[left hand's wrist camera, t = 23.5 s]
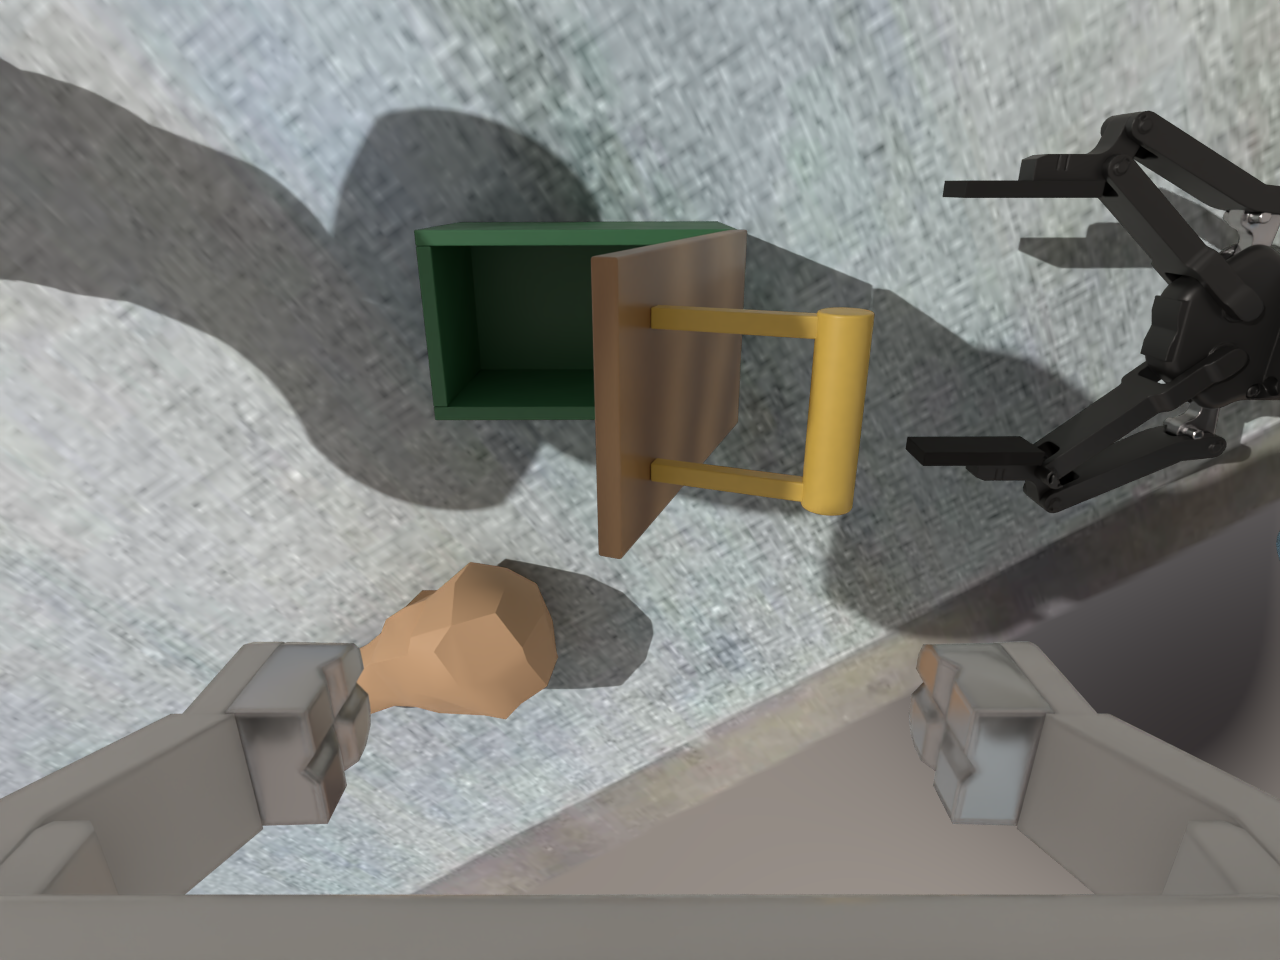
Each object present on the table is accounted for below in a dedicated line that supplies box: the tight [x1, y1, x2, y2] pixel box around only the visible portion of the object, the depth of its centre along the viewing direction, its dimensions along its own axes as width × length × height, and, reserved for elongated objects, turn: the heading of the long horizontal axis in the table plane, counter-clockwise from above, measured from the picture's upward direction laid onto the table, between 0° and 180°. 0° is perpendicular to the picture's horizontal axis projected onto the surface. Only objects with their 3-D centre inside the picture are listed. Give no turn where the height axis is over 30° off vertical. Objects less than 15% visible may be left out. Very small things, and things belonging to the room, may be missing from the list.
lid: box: [591, 230, 874, 559], centre depth 29 cm, size 17×10×8 cm
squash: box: [357, 562, 558, 719], centre depth 52 cm, size 11×20×9 cm, turn 120°
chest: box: [414, 221, 737, 420], centre depth 42 cm, size 16×10×10 cm, turn 90°
